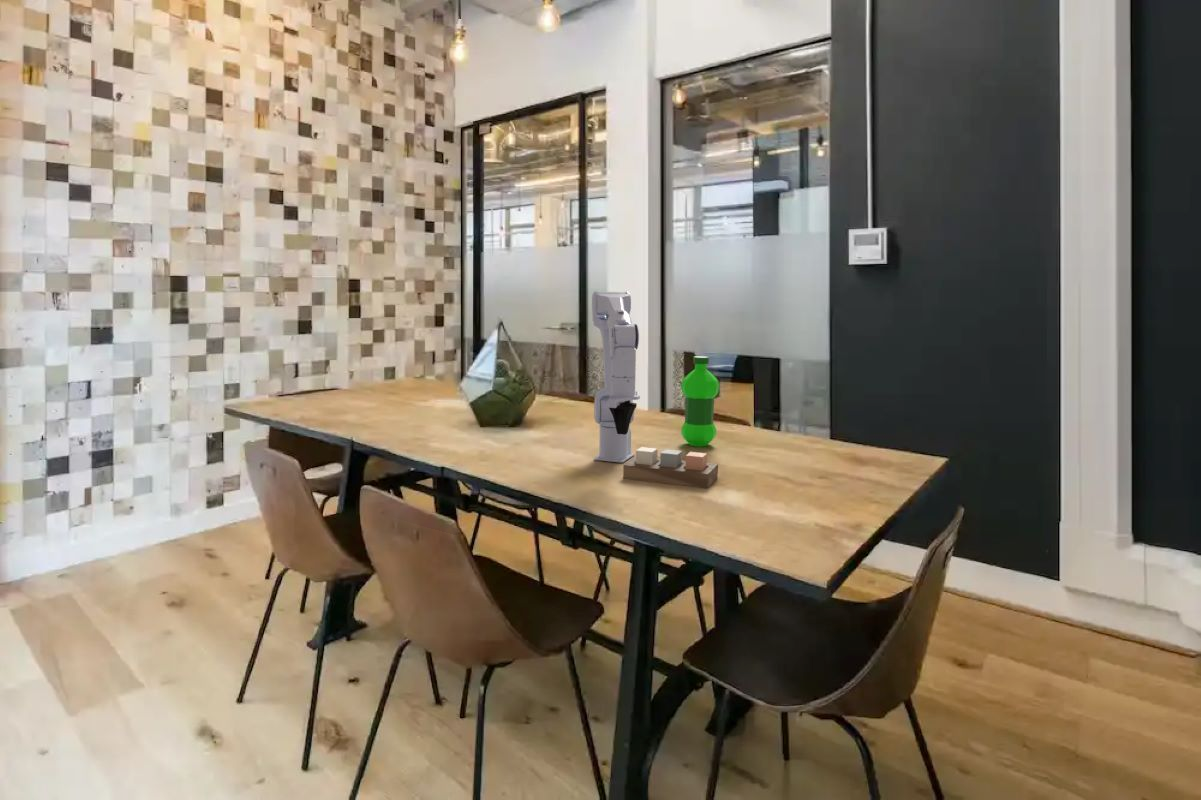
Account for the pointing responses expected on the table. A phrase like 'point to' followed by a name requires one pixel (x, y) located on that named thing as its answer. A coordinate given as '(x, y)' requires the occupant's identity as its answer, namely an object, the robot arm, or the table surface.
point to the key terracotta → (696, 461)
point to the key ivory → (646, 456)
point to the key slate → (671, 458)
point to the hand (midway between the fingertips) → (622, 433)
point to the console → (671, 474)
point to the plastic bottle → (699, 404)
